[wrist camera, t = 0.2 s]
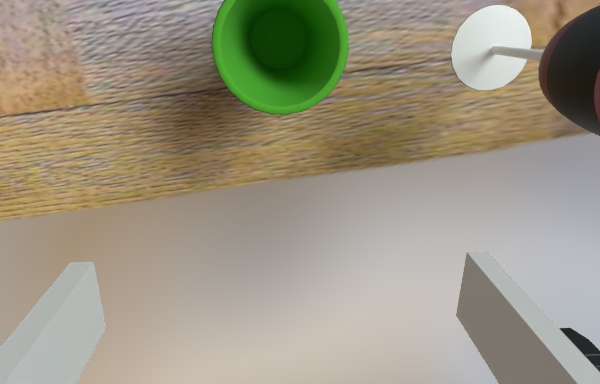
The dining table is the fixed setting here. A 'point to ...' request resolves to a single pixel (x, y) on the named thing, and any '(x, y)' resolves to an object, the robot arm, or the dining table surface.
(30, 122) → the dining table surface
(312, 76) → the cup
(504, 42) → the wineglass
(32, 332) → the robot arm
